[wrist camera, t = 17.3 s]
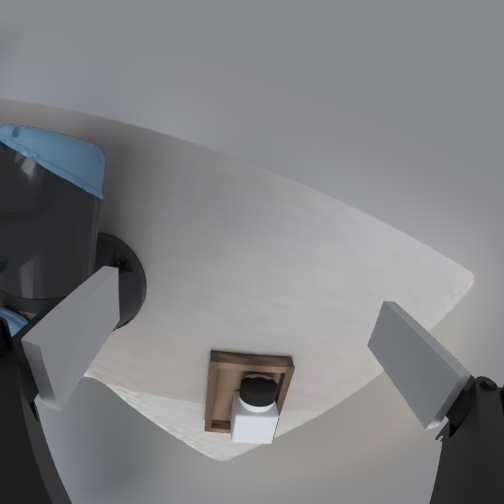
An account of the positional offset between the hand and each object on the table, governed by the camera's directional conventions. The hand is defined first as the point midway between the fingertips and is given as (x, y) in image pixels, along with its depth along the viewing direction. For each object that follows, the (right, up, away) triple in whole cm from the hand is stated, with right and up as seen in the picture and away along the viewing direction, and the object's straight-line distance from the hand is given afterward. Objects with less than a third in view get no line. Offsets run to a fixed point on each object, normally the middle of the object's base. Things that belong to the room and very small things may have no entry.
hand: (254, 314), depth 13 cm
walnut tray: (-1, -23, +34) cm, 41 cm away
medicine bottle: (0, -30, +31) cm, 43 cm away
